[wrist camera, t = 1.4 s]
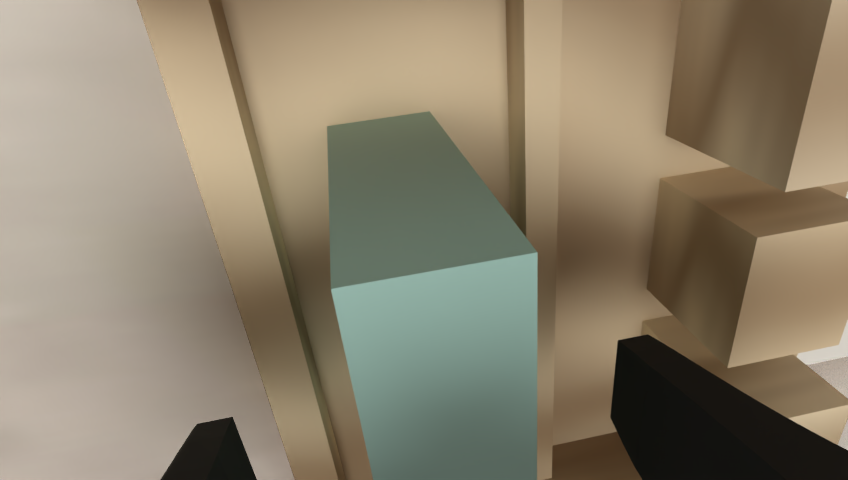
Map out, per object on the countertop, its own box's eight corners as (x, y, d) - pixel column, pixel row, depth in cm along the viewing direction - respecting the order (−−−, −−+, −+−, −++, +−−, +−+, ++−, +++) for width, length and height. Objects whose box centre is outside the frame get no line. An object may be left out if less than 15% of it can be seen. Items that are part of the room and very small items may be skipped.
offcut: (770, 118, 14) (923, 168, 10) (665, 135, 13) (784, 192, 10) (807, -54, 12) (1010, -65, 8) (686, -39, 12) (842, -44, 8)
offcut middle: (737, 271, 16) (838, 345, 13) (646, 289, 16) (727, 368, 13) (760, 161, 14) (884, 214, 11) (660, 178, 14) (757, 237, 11)
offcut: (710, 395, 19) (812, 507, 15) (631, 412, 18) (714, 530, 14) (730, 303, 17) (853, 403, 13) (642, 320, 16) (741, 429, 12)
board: (456, 394, 16) (536, 646, 10) (381, 409, 16) (417, 678, 10) (429, 111, 12) (537, 252, 6) (327, 126, 12) (330, 289, 6)
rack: (733, 413, 20) (898, 591, 14) (319, 504, 18) (318, 747, 13) (876, -163, 12) (1418, -295, 6) (137, -90, 10) (-115, -174, 4)
